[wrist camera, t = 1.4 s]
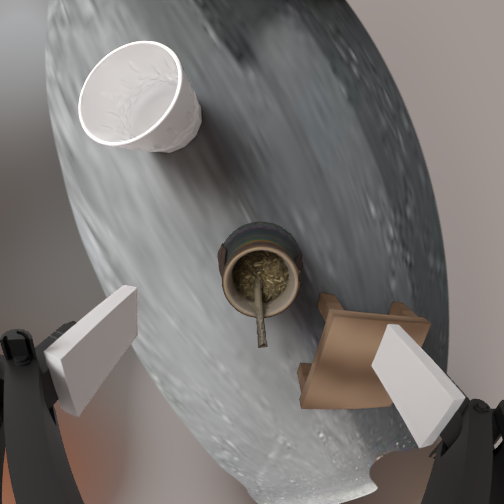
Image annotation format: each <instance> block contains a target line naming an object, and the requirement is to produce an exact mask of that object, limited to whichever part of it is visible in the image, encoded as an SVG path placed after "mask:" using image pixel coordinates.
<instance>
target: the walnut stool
mask: <svg viewBox="0 0 504 504" xmlns="http://www.w3.org/2000/svg"><path fill="white" fill-rule="evenodd" d="M317 307H318V309H319V311H320V313H321V315H322V317H323V319H324V321H325V326H324V330H323V333H322V336H321V339H320V342H319V345H318V348H317V351H316V354H315V357H314V360H313V363H312V364H306V363H300V365H299V368H298V371H297V375H298V379H299V384H300V389H301V396H300V399H299V400H300V405H301V409H358V408H375V407H387V406H391V404H392V403H393V401H392V399H391V398H390V396H389V394H388V392H387V391H386V389H385V387H384V386H383V384H382V382H381V381H380V379H379V377H378V376H377V374H376V373H375V371H374V369H373V368H372V366H371V365H372V363H373V360H374V358H375V356H376V353H377V351H378V348H379V346H380V343H381V341H382V338H383V336H384V333H385V330H386V328H387V325H388V324H395V325H400V327H401V328H402V329H403V330H404V331H405V332H406V333H407V334H408V335H409V336H410V337H411V338H412V339H413V340H414V341H415V342H416V343H417V344H418V345H419V346H420V347H422V345H423V342H424V340H425V338H426V335H427V333H428V331H429V328H430V326H431V323H430V322H428V321H427V320H426V319H425V318H423V317H418V316H417V315H416V314H415V313H414V312H412V311H411V310H410V309H409V308H408V307H407V306H406V305H404V304H403V303H399V302H392V305H391V308H390V311H389V315H385V314H374V313H364V312H354V311H345V310H344V309H343V307H342V306H341V304H340V303H339V301H338V300H337V298H336V297H335V296H334V295H333V294H325V293H320V297H319V301H318V304H317Z"/></svg>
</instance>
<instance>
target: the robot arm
mask: <svg viewBox="0 0 504 504" xmlns="http://www.w3.org/2000/svg"><path fill="white" fill-rule="evenodd" d="M137 335H138V331H137V288H136V287H132V286H127V285H123V286H122V287H120V288H119V289H118V290H117V291H115V292H114V293H113V294H112V295H110V296H109V297H108V298H107V299H105V300H104V301H103V302H102V303H100V304H99V305H98V306H97V307H95V308H94V309H93V310H92V311H91V312H89V313H88V314H87V315H86V316H84V317H83V318H82V319H81V320H80V321H79V322H75V321H72V322H69V323H66V324H64V325H62V326H61V327H60V328H58V329H57V330H56V332H54V333H52V334H51V336H49V337H47V339H45V340H44V341H43V342H41V343H40V344H39V345H38V346H37V347H35V348H34V344H33V340H32V336H31V334H30V333H29V332H27V331H25V330H21V329H14V330H10V331H7V332H5V333H4V334H3V335H2V336H1V338H0V343H1V346H2V350H3V353H4V355H0V504H2V475H3V463H4V454H5V447H6V453H7V461H8V468H9V473H10V479H11V484H12V488H13V493H14V497H15V500H16V504H84V502H83V500H82V497H81V495H80V492H79V490H78V487H77V485H76V482H75V480H74V477H73V474H72V471H71V468H70V465H69V462H68V459H67V455H66V452H65V449H64V445H63V441H62V438H61V434H60V430H59V425H58V421H57V416H56V411H55V408H54V406H53V405H54V404H55V402H56V401H57V400H59V403H60V406H61V408H62V410H64V411H66V412H68V413H70V414H72V415H74V416H76V417H79V416H80V414H81V413H82V411H83V410H84V408H85V407H86V405H87V404H88V402H89V401H90V400H91V398H92V397H93V395H94V394H95V392H96V391H97V390H98V388H99V387H100V385H101V384H102V383H103V381H104V380H105V378H106V377H107V375H108V374H109V373H110V371H111V370H112V369H113V367H114V366H115V364H116V363H117V362H118V360H119V359H120V358H121V356H122V355H123V354H124V352H125V351H126V350H127V348H128V347H129V346H130V344H131V343H132V342H133V340H134V339H135V338H136V336H137ZM371 366H372V368H373V369H374V371H375V373H376V374H377V376H378V377H379V379H380V381H381V382H382V384H383V386H384V387H385V389H386V391H387V392H388V394H389V396H390V398H391V399H392V401H393V403H394V404H395V406H396V408H397V410H398V411H399V413H400V415H401V416H402V418H403V420H404V422H405V423H406V425H407V427H408V429H409V431H410V432H411V434H412V436H413V438H414V439H415V441H416V443H417V445H418V447H419V448H422V447H425V446H429V445H432V444H433V443H434V441H435V440H436V439H437V438H438V436H439V435H440V436H441V438H442V441H441V442H440V443H439V444H438V445H437V447H436V448H435V449H434V450H433V451H432V453H431V454H430V455H429V457H431V456H432V455H433V454H434V453H436V456H435V457H434V459H435V460H434V464H433V468H432V471H431V475H430V478H429V481H428V484H427V488H426V490H425V493H424V496H423V499H422V502H421V504H504V400H502V401H501V402H500V403H499V405H498V406H497V408H496V409H490V407H489V406H488V404H486V403H485V402H484V401H482V400H480V399H472V400H471V401H470V400H469V399H468V397H467V396H466V395H465V394H464V393H463V392H462V391H461V390H460V389H459V387H458V386H457V385H455V383H454V382H453V381H452V380H451V378H450V377H449V376H448V375H447V374H446V373H445V372H444V371H442V370H441V369H440V368H439V367H438V365H437V364H436V363H435V362H434V361H433V360H432V359H431V358H430V357H429V356H428V355H427V354H426V353H425V351H424V350H423V349H422V348H421V347H420V346H419V345H418V344H417V343H416V342H415V341H414V340H413V339H412V338H411V337H410V336H409V335H408V334H407V333H406V332H405V331H404V330H403V329H402V328H401V327H400V325H395V324H388V325H387V328H386V330H385V333H384V336H383V338H382V341H381V343H380V346H379V348H378V351H377V353H376V356H375V358H374V360H373V363H372V365H371ZM501 436H502V439H503V441H502V442H501V443H500V445H499V446H498V447H497V448H496V449H495V448H494V445H495V444H496V442H497V441H498V440H499V438H500V437H501Z"/></svg>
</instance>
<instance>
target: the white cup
mask: <svg viewBox="0 0 504 504" xmlns="http://www.w3.org/2000/svg"><path fill="white" fill-rule="evenodd" d="M79 118H80V122H81V125H82V127H83V129H84V131H85V132H86V134H87V135H88V136H89V137H90V138H91V139H93V140H94V141H96V142H98V143H100V144H103V145H107V146H114V147H121V148H126V149H132V150H141V151H148V152H165V153H171V152H173V151H176V150H178V149H181V148H184V147H185V146H186V145H187V144H188V143H189V142H190V141H191V140H192V139H193V138H194V137H196V135H197V132H198V130H199V127H200V125H201V123H202V116H201V106H200V105H199V103H198V100H197V97H196V94H195V92H194V90H193V87H192V85H191V83H190V81H189V79H188V77H187V75H186V73H185V71H184V69H183V67H182V65H181V63H180V61H179V59H178V57H177V56H176V54H175V53H174V52H173V51H172V50H171V49H170V48H168V47H167V46H165V45H163V44H160V43H157V42H153V41H138V42H133V43H130V44H127V45H124V46H122V47H120V48H118V49H116V50H114V51H112V52H111V53H109V54H108V55H107V56H106V57H104V58H103V59H102V60H101V61H100V62H99V63H98V64H97V65H96V66H95V68H94V69H93V70H92V71H91V73H90V74H89V76H88V78H87V79H86V81H85V83H84V86H83V88H82V91H81V94H80V99H79Z"/></svg>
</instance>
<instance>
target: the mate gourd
mask: <svg viewBox="0 0 504 504" xmlns="http://www.w3.org/2000/svg"><path fill="white" fill-rule="evenodd" d="M218 262H219V271H220V274H221V277H222V287H223V291H224V294H225V296H226V298H227V300H228V301H229V303H230V304H231V305H232V306H233V307H234V308H235V309H236V310H237V311H239V312H240V313H242V314H244V315H247V316H250V317H255V318H256V319H257V321H256V322H257V334H258V348H262V347H267V341H266V331H265V325H264V318H267V317H272V316H275V315H277V314H280V313H282V312H283V311H285V310H286V309H288V307H290V305H291V304H292V303H293V302H294V300H295V298H296V297H297V294H298V292H299V288H300V286H301V282H300V279H299V278H300V273H301V270H302V266H303V265H302V264H303V263H302V253H301V251H300V249H299V247H298V245H297V243H296V241H295V239H294V238H293V237H292V235H291V233H288V232H287V231H286V230H285V229H283V228H282V227H280V226H278V225H275V224H272V223H268V222H253V223H250V224H246V225H244V226H241V227H240V228H238V229H237V230H235V231H234V232H233V233H232V234H231V235H230V236H229V237H228V239H227V240H226V241H225V243H224V244H223V243H222V245H221V248H220V249H219V251H218Z"/></svg>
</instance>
